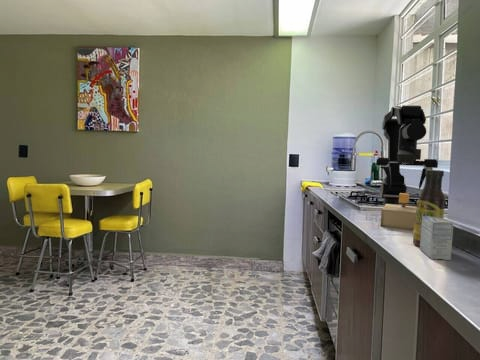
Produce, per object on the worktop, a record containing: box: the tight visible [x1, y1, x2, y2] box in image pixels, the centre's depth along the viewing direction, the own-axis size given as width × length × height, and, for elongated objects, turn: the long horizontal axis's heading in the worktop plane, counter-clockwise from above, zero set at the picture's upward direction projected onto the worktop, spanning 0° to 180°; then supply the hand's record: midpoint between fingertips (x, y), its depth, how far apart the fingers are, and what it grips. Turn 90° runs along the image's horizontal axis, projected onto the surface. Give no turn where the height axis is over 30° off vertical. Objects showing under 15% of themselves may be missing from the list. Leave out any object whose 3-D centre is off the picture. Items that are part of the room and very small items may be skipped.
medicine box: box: [419, 216, 454, 261], centre depth 81 cm, size 8×4×9 cm, turn 168°
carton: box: [380, 206, 416, 231], centre depth 117 cm, size 15×12×6 cm
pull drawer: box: [385, 192, 417, 209], centre depth 120 cm, size 7×12×5 cm, turn 63°
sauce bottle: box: [412, 169, 446, 247], centre depth 89 cm, size 6×6×20 cm
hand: (404, 187), depth 119 cm, fingers open, 9 cm apart
